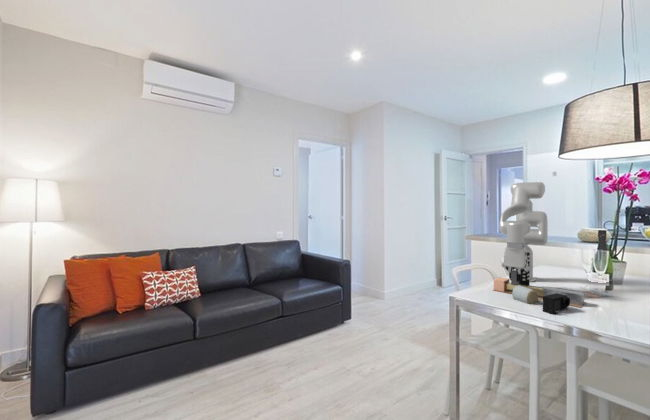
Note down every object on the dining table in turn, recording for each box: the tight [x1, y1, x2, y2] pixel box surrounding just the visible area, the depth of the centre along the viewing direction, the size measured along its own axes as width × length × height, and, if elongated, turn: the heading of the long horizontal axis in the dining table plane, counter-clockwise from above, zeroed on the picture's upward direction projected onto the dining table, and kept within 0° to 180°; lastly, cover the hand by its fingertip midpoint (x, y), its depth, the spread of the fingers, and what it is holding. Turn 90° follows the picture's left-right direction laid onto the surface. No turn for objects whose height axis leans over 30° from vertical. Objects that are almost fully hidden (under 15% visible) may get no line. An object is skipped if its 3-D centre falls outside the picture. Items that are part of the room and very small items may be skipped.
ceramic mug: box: [511, 285, 540, 305], centre depth 146 cm, size 11×8×8 cm
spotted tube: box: [513, 252, 530, 286], centre depth 171 cm, size 8×8×20 cm
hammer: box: [505, 270, 543, 296], centre depth 156 cm, size 4×22×10 cm, turn 40°
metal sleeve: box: [543, 286, 585, 307], centre depth 144 cm, size 5×15×5 cm, turn 40°
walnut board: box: [491, 289, 587, 309], centre depth 153 cm, size 12×37×1 cm, turn 40°
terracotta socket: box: [493, 276, 510, 292], centre depth 165 cm, size 8×5×6 cm, turn 130°
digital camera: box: [542, 293, 570, 315], centre depth 133 cm, size 10×5×7 cm, turn 114°
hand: (515, 280), depth 160 cm, fingers closed on hammer, 2 cm apart
